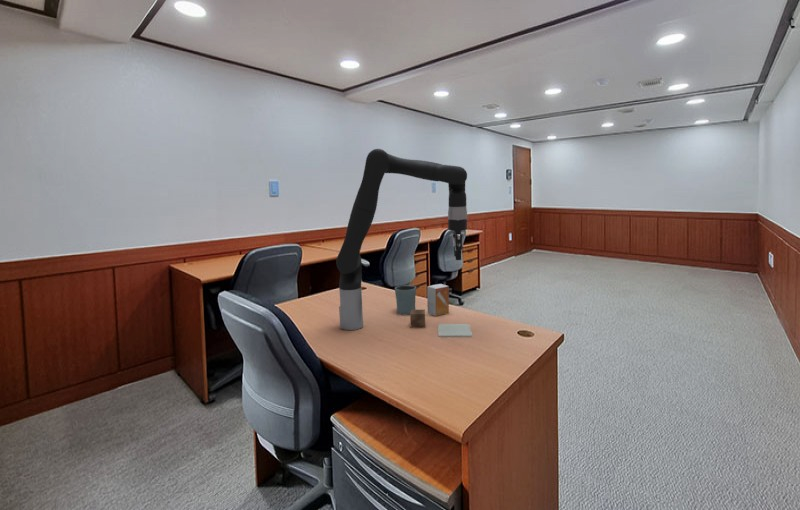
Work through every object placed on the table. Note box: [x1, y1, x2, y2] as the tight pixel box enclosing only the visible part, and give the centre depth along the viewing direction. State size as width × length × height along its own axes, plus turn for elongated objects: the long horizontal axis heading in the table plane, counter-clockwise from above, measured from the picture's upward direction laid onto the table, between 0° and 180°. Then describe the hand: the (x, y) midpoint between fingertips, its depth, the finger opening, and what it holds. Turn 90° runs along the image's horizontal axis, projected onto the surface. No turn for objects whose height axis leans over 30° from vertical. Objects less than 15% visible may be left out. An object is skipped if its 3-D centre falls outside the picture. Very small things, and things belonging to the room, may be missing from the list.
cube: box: [409, 309, 426, 329], centre depth 161 cm, size 6×6×6 cm
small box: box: [426, 283, 450, 317], centre depth 176 cm, size 8×6×13 cm
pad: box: [437, 323, 473, 338], centre depth 154 cm, size 13×13×1 cm
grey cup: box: [394, 284, 417, 316], centre depth 179 cm, size 10×10×12 cm
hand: (457, 258), depth 154 cm, fingers open, 8 cm apart
